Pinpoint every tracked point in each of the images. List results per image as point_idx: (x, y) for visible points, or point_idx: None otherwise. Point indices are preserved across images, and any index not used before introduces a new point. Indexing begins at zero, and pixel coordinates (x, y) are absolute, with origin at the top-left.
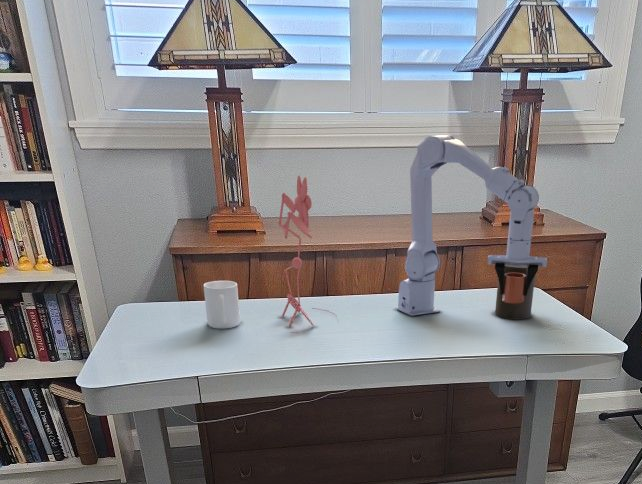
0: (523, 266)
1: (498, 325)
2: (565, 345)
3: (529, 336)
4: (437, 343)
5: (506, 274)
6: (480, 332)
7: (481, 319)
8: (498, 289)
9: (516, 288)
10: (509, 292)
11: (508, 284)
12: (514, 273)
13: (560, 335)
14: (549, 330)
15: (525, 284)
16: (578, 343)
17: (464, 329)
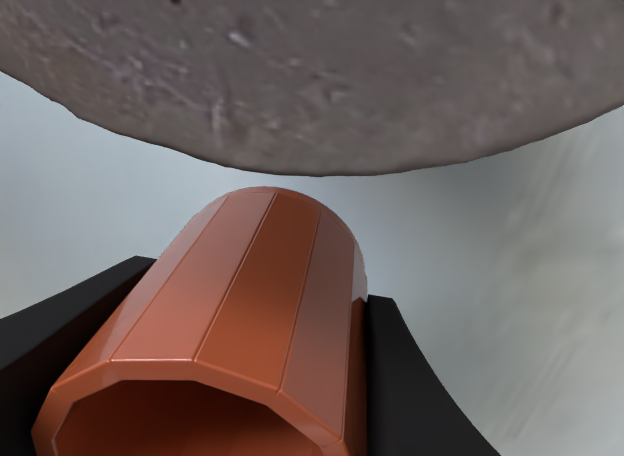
0: (434, 19)
1: (232, 187)
2: (511, 452)
3: None
4: None
5: (60, 432)
6: None
7: None
8: None
9: (255, 448)
10: (205, 395)
11: (158, 449)
12: (181, 376)
13: (550, 342)
14: (523, 267)
15: (372, 371)
16: (587, 436)
17: (61, 261)
